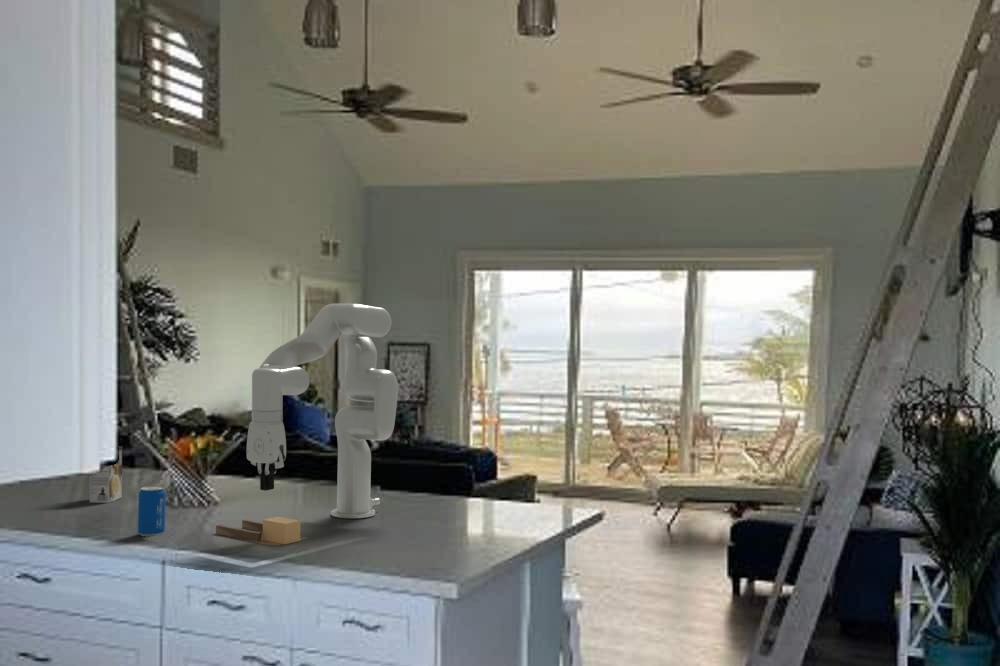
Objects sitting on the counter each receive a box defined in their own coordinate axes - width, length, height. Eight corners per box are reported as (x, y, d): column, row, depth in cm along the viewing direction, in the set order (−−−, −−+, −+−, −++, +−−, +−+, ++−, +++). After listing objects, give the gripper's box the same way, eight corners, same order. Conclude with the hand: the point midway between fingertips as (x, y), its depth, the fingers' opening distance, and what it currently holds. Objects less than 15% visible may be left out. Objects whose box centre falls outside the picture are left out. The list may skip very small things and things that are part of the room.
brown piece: (248, 530, 250) (248, 519, 250) (308, 541, 238) (308, 529, 238) (212, 537, 241) (213, 526, 241) (273, 550, 229) (274, 537, 229)
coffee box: (101, 497, 295) (102, 445, 295) (122, 497, 294) (123, 446, 294) (88, 502, 285) (89, 449, 285) (109, 503, 285) (110, 449, 285)
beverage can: (148, 538, 238) (149, 490, 238) (132, 535, 242) (133, 488, 242) (170, 534, 244) (171, 487, 244) (153, 531, 247) (154, 485, 247)
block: (277, 536, 239) (278, 516, 239) (300, 540, 235) (300, 520, 235) (262, 539, 235) (262, 519, 235) (285, 544, 230) (285, 523, 230)
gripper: (235, 416, 240) (235, 488, 240) (277, 420, 231) (276, 495, 232) (258, 413, 246) (258, 484, 246) (299, 417, 238) (299, 490, 238)
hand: (267, 489), depth 239 cm, fingers closed
